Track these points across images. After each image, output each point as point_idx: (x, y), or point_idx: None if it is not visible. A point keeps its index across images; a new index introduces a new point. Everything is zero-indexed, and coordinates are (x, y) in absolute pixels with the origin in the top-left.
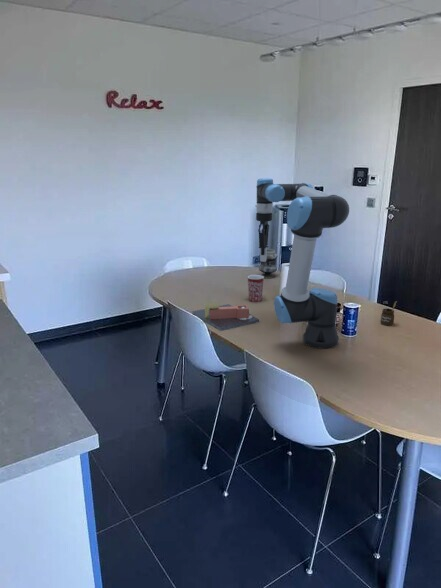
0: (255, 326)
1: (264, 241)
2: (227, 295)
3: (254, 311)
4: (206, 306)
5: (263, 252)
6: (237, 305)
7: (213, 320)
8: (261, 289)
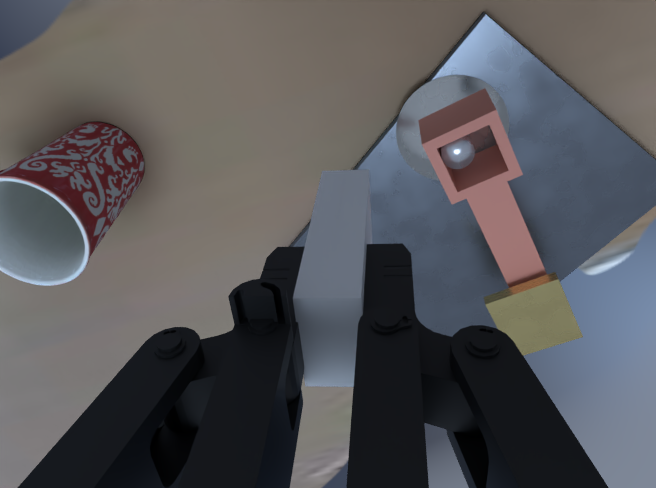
0: (574, 9)
1: (532, 462)
2: (122, 308)
3: (303, 102)
4: (575, 332)
5: (411, 279)
6: (447, 195)
7: (560, 253)
8: (70, 150)
